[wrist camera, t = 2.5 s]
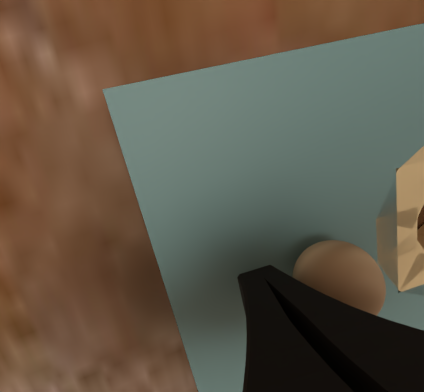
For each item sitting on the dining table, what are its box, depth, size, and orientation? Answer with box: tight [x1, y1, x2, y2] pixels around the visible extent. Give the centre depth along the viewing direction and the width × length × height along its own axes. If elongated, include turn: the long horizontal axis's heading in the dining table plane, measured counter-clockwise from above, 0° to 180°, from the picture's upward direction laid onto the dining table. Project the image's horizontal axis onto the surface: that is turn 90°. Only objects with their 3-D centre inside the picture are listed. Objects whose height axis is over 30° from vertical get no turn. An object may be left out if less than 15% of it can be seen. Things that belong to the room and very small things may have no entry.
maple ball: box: [293, 240, 386, 316], centre depth 9 cm, size 3×3×3 cm
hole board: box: [103, 23, 424, 392], centre depth 12 cm, size 18×16×2 cm
